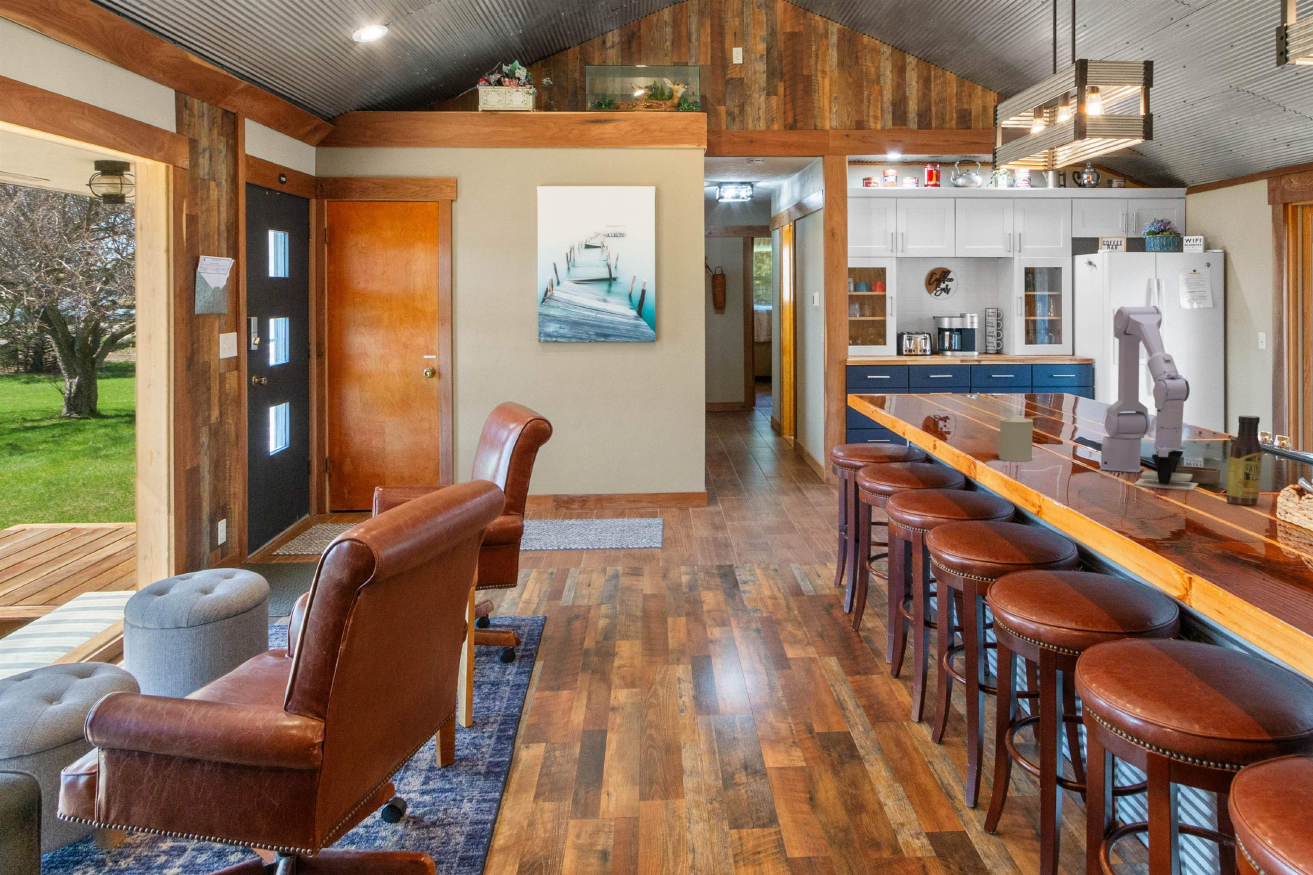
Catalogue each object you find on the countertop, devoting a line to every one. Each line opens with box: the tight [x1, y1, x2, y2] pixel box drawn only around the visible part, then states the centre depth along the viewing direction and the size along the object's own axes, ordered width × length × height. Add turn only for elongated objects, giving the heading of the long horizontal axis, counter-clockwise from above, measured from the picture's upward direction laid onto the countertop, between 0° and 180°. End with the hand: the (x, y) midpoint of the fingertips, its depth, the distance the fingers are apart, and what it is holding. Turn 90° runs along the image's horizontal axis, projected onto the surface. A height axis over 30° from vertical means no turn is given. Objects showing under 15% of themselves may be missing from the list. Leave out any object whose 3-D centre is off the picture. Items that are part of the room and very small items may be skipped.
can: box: [998, 417, 1034, 462], centre depth 279 cm, size 9×9×12 cm
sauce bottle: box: [1226, 415, 1263, 506], centre depth 214 cm, size 6×6×20 cm
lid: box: [1140, 470, 1193, 482], centre depth 237 cm, size 11×6×1 cm, turn 54°
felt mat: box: [1133, 477, 1199, 492], centre depth 237 cm, size 13×8×1 cm, turn 54°
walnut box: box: [1175, 465, 1221, 486], centre depth 240 cm, size 10×5×4 cm, turn 54°
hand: (1166, 481), depth 237 cm, fingers closed on lid, 5 cm apart
